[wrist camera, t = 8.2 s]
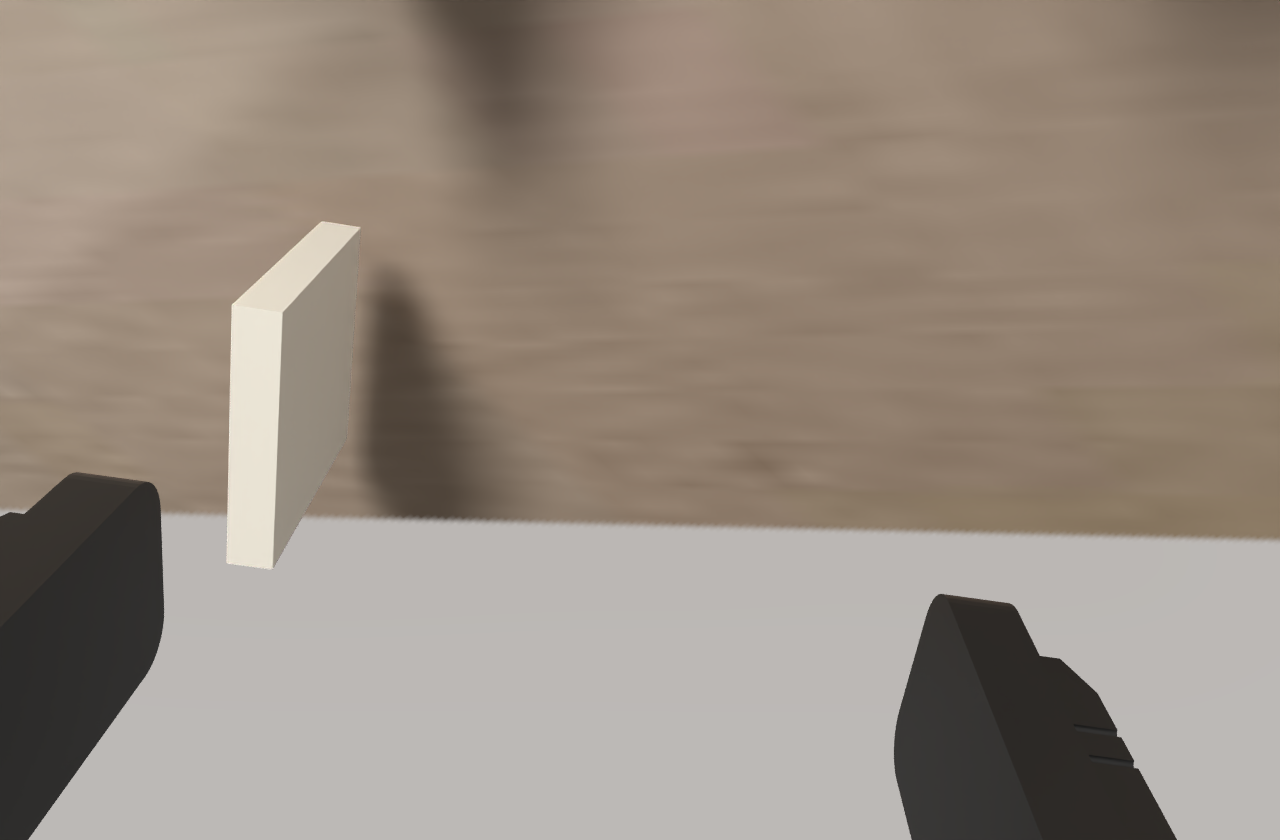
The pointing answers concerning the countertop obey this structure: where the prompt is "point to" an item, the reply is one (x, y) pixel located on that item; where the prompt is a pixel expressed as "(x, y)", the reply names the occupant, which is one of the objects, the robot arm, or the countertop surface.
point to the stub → (289, 389)
